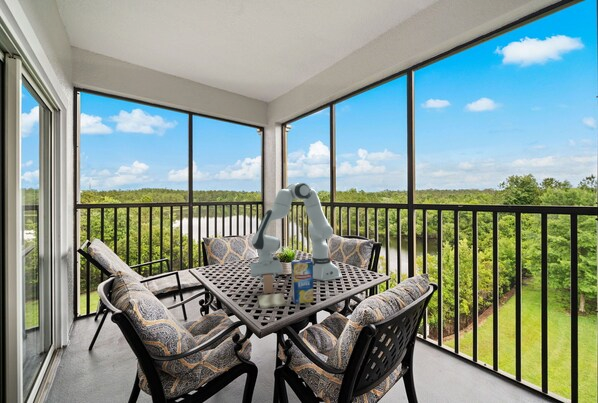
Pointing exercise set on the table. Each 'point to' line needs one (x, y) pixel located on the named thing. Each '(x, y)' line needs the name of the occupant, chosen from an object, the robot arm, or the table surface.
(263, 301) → the placemat
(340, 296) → the table surface
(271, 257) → the robot arm
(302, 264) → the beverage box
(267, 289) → the terracotta block
